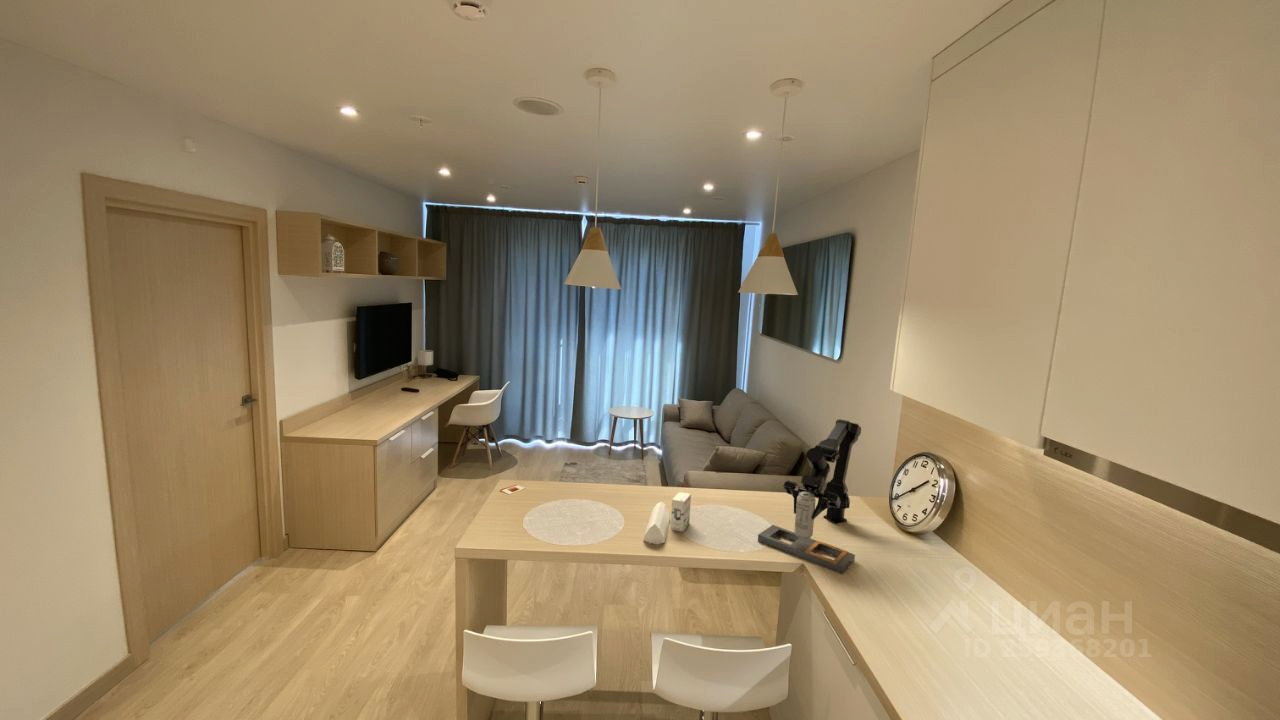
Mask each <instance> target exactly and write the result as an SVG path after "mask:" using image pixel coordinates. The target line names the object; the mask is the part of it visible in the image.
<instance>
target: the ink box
mask: <svg viewBox="0 0 1280 720" xmlns="http://www.w3.org/2000/svg"><path fill="white" fill-rule="evenodd" d="M691 497H692V493H689V492H682V491H679V492H678V493H677V494H676V495H675V496H674V497H673V498H672V499H671V514H670V515H671V516H670V530H673V531H678V532H681V531H683V532H684V531H685V530H686V528H687V527H688V525H689V524H690V517H691V500H692V498H691Z"/></svg>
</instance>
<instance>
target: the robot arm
mask: <svg viewBox="0 0 1280 720" xmlns="http://www.w3.org/2000/svg"><path fill="white" fill-rule="evenodd" d="M861 433H862V427H861V426H860V425H859V423H854V422H851V421H850V420H845V419H836V421H835V425H834V427H833V428H832V430H831V432H830V433H829V435H828V436H827V438H826V439H824V440H821V441H820V442H819V443H818V444H816V445H815V446H814V447H812V448H810V449H808V451H806V454H805V455H806V459H807V461H808V464H809V466H810V468H811V469H810V472H809V473H808V474H805V473H802V476H801V480H800V484H802V487H800V486H799V484H798V483H797V482H795V481H791V480H786V481H784V482H783V485H782V487H783V489H784V490H785V492H786V494H788V495H789V496H790V495H791V496H792V497H793V513H794V514H795V515H796V504H797V497H798V495H799V493H800V492H810V493H812V494H814V498H815V499H818V500H817V504H816V505H815V510H814V513H813V515H812V519H814V520H815V519H816V518H817V517H818V516H819V515H820V514H821V513H822V512H823V511H825V510H826V513H825V515H823V518H824V519H826V520H828V521H830V522H831V523H834V524H840V523H844V522H847V520H848V519H847V518H845V510H847V509H850V503H851V499H850V497H849V493H848V492H849V490H848V486H847V484H846V479H847V473H848V468H849V463H850V459H851V453H852V448H853V446H854V444H856V442H857V441H858V440H859V437H860V436H861ZM829 463H835V465H834V470H833V476H832V479H830V481H828V482H827V478H828V476H829V475H828V474H829V473H830V472H831V471H830V470H831V466H830V464H829ZM826 482H827V483H826ZM825 486H826V487H825ZM824 488H825V489H824ZM823 490H824V491H823ZM822 492H823V493H822Z"/></svg>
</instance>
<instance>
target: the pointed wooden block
mask: <svg viewBox="0 0 1280 720" xmlns="http://www.w3.org/2000/svg"><path fill="white" fill-rule="evenodd" d="M670 515H671V514H670V511H669V509H668V508H667V506H666V504H665V503H664V502H662V501H660V502H657V504H655V506H654V507H653V509H652V511H651V513H650V517H649V520H648V523H647V527H646V530H645V532H644V533H645V534H644V537H643V541H645V542H646V541H647V542H650V543H653V544H652V545H660V544H659V543H662V544H663V543H664V544H665V542H666V537H667V535H668V534H667V533H668V529H669V524H670V521H671V516H670ZM647 542H646V543H647ZM650 543H649V544H650Z"/></svg>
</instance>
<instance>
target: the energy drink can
mask: <svg viewBox="0 0 1280 720" xmlns="http://www.w3.org/2000/svg"><path fill="white" fill-rule="evenodd" d="M815 508H816V498H815V497H814V494H812V493H810V492H800V493H799V495H798V497H797V504H796V514H795V516H794V517H795V518H794V520H795V521H794V531H793V532H794V533H795V534H796V536H797V537H798V538H801V539H810V538H811V539H812V537H813V534H814V526H815V525H814V523H815V522H814V521H815V519H812V515H813V513H814V510H815Z"/></svg>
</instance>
